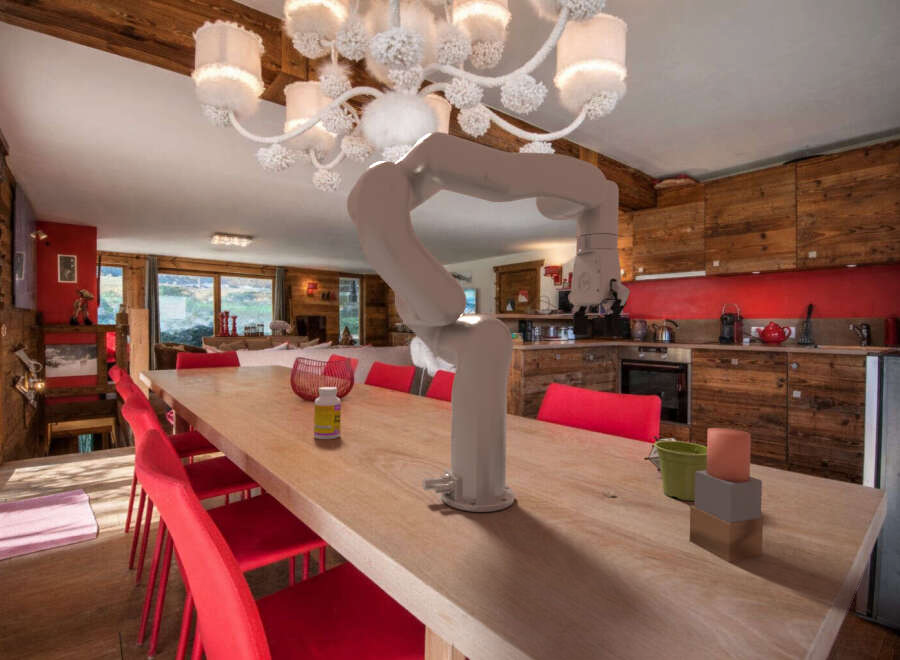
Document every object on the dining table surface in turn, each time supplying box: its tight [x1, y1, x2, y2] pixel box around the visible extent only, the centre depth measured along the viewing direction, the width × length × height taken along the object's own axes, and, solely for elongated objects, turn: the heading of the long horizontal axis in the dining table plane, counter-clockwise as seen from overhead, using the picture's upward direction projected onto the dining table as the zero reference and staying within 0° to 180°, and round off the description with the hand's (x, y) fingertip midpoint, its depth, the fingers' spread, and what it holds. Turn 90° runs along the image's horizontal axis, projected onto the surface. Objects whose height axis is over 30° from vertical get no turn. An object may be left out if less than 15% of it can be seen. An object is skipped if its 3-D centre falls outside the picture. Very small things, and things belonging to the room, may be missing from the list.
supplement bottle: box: [313, 386, 342, 440], centre depth 118 cm, size 7×7×13 cm
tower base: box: [689, 505, 764, 563], centre depth 61 cm, size 6×6×5 cm
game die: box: [643, 434, 683, 472], centre depth 91 cm, size 9×8×10 cm
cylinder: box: [706, 427, 752, 482], centre depth 61 cm, size 5×5×6 cm
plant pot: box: [653, 440, 707, 502], centre depth 81 cm, size 9×9×9 cm
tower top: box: [693, 470, 763, 523], centre depth 61 cm, size 6×6×5 cm
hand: (595, 335), depth 87 cm, fingers open, 9 cm apart
